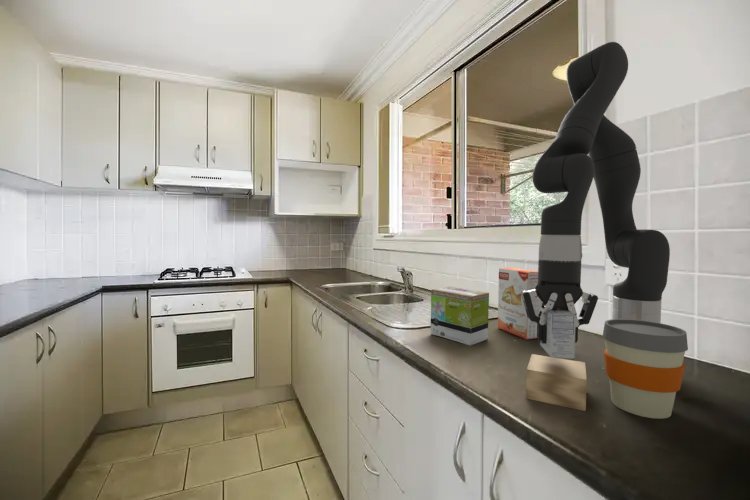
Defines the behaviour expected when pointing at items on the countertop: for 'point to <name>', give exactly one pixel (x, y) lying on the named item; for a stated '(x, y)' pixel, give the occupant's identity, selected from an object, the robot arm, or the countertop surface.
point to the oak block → (557, 381)
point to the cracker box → (517, 301)
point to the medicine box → (560, 334)
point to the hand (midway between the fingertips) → (556, 343)
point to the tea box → (460, 314)
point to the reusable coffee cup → (644, 365)
